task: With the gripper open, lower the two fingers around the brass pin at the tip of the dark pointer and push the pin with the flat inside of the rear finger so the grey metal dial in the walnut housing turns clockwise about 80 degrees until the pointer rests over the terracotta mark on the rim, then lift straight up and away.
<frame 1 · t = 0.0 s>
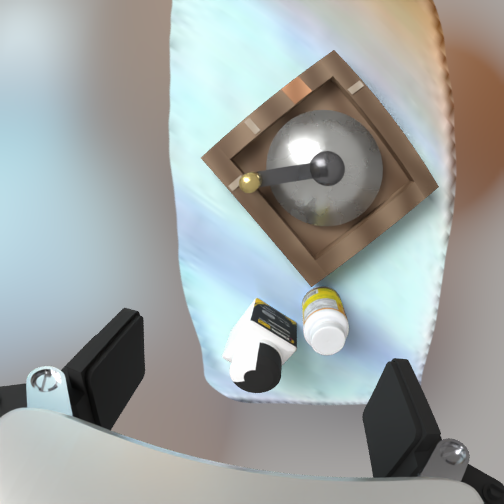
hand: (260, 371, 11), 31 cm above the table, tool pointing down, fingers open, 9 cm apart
housing: (323, 167, 38), on the table
supplement bottle: (321, 301, 44), on the table
dial: (317, 170, 34), point 5 cm above the table, hinge at 0.0°
medicine bottle: (263, 326, 46), on the table
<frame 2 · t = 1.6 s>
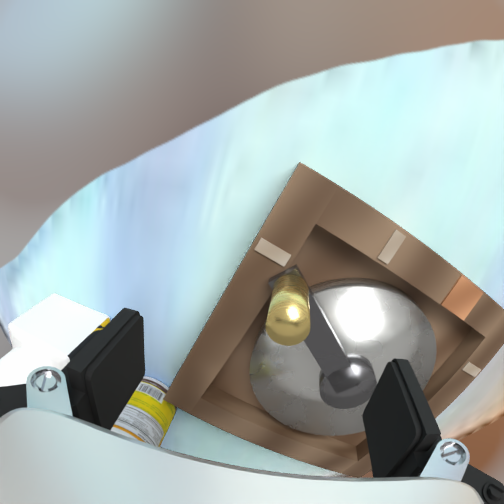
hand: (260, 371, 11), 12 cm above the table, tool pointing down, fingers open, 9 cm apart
housing: (342, 353, 23), on the table
supplement bottle: (154, 393, 28), on the table
dial: (342, 382, 19), point 5 cm above the table, hinge at 0.0°
medicine bottle: (83, 332, 27), on the table
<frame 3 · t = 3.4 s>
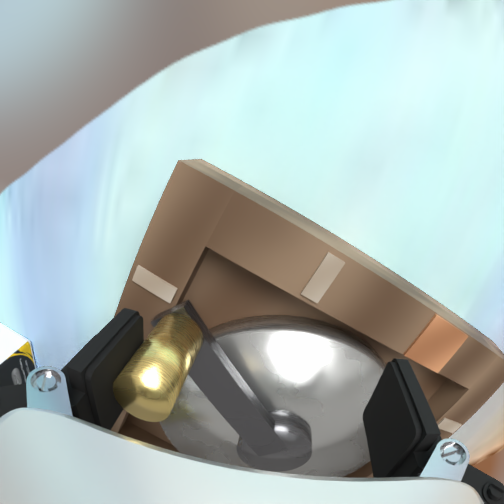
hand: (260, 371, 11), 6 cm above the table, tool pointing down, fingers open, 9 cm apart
housing: (278, 400, 18), on the table
dial: (262, 448, 13), point 5 cm above the table, hinge at -2.1°, touching gripper
medicine bottle: (14, 353, 22), on the table
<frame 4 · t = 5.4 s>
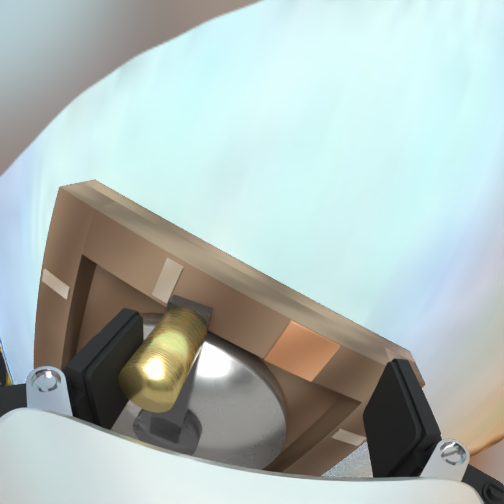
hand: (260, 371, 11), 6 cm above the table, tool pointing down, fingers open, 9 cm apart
housing: (184, 393, 20), on the table
dial: (162, 433, 15), point 5 cm above the table, hinge at -48.3°, touching gripper
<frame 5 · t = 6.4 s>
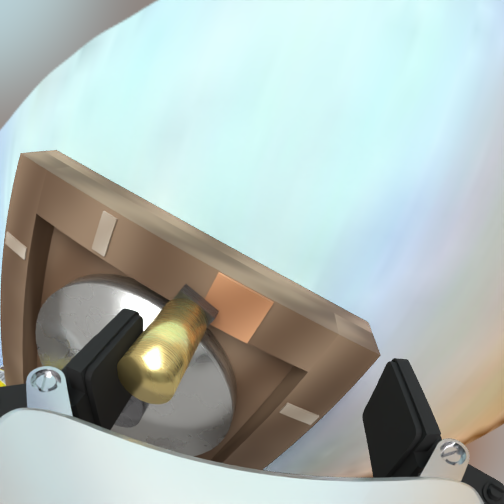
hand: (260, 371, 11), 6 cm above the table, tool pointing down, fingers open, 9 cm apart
housing: (138, 362, 19), on the table
dial: (113, 401, 14), point 5 cm above the table, hinge at -72.2°, touching gripper
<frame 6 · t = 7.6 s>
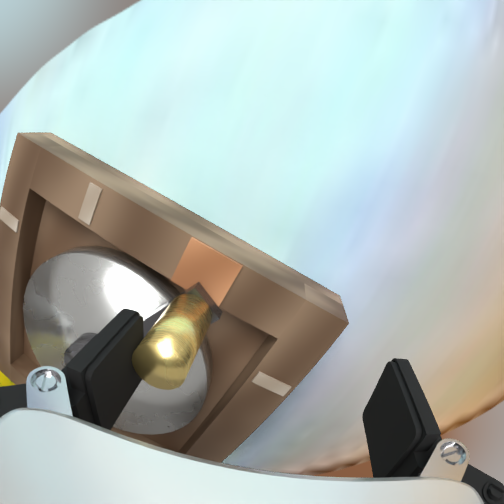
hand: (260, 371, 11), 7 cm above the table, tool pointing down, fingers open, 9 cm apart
housing: (120, 336, 20), on the table
supplement bottle: (8, 364, 24), on the table
dial: (96, 371, 15), point 5 cm above the table, hinge at -85.9°
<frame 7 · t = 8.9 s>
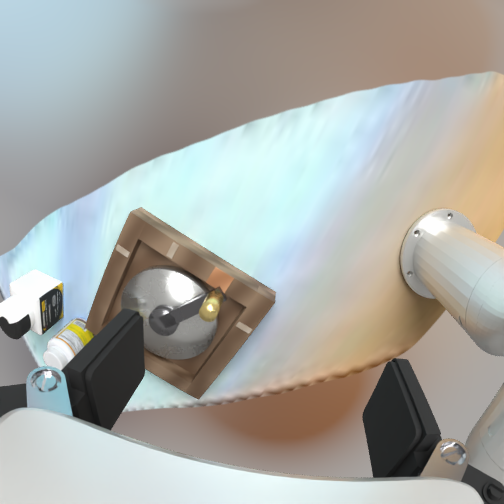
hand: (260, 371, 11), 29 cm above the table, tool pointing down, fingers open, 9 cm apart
housing: (172, 308, 44), on the table
supplement bottle: (85, 329, 47), on the table
dial: (168, 321, 39), point 5 cm above the table, hinge at -88.3°
medicine bottle: (49, 292, 46), on the table
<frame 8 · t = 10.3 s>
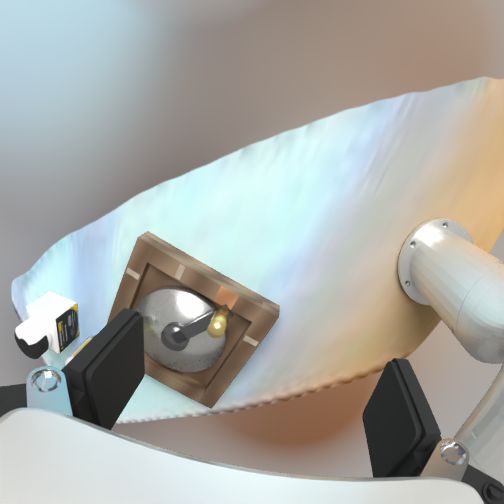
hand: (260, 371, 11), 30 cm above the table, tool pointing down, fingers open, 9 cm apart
housing: (183, 324, 46), on the table
supplement bottle: (100, 346, 50), on the table
dial: (179, 338, 41), point 5 cm above the table, hinge at -88.3°
medicine bottle: (64, 312, 49), on the table
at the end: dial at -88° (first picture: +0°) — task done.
